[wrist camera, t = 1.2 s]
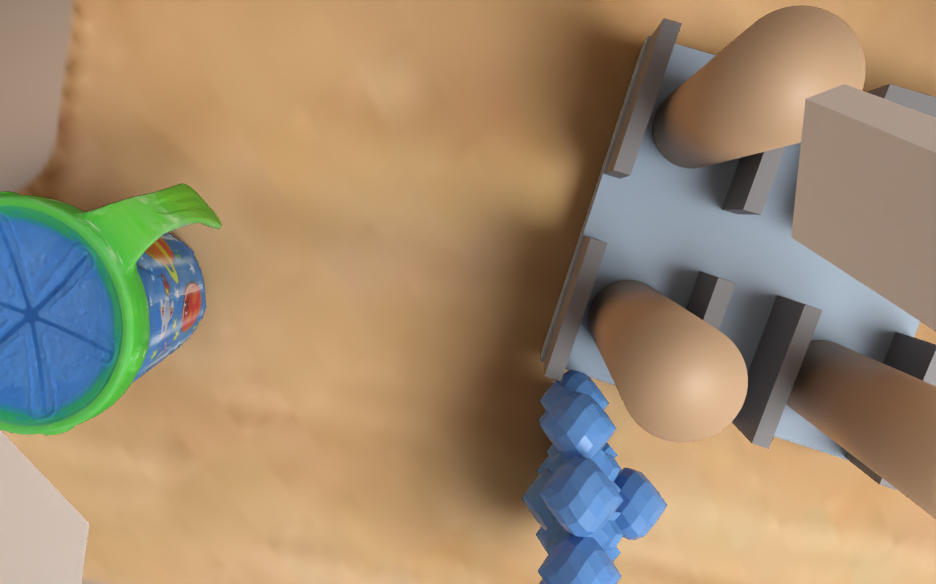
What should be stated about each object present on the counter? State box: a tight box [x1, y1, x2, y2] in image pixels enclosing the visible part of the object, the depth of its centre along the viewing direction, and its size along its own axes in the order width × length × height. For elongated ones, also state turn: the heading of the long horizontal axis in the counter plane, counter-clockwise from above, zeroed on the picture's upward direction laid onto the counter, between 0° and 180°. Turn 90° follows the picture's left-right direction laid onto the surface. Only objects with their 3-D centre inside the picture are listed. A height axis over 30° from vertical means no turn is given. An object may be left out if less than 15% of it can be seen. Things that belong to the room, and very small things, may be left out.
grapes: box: [522, 369, 667, 584], centre depth 32 cm, size 12×7×12 cm, turn 179°
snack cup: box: [0, 184, 222, 435], centre depth 34 cm, size 16×10×10 cm
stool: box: [541, 6, 936, 519], centre depth 28 cm, size 17×17×15 cm
